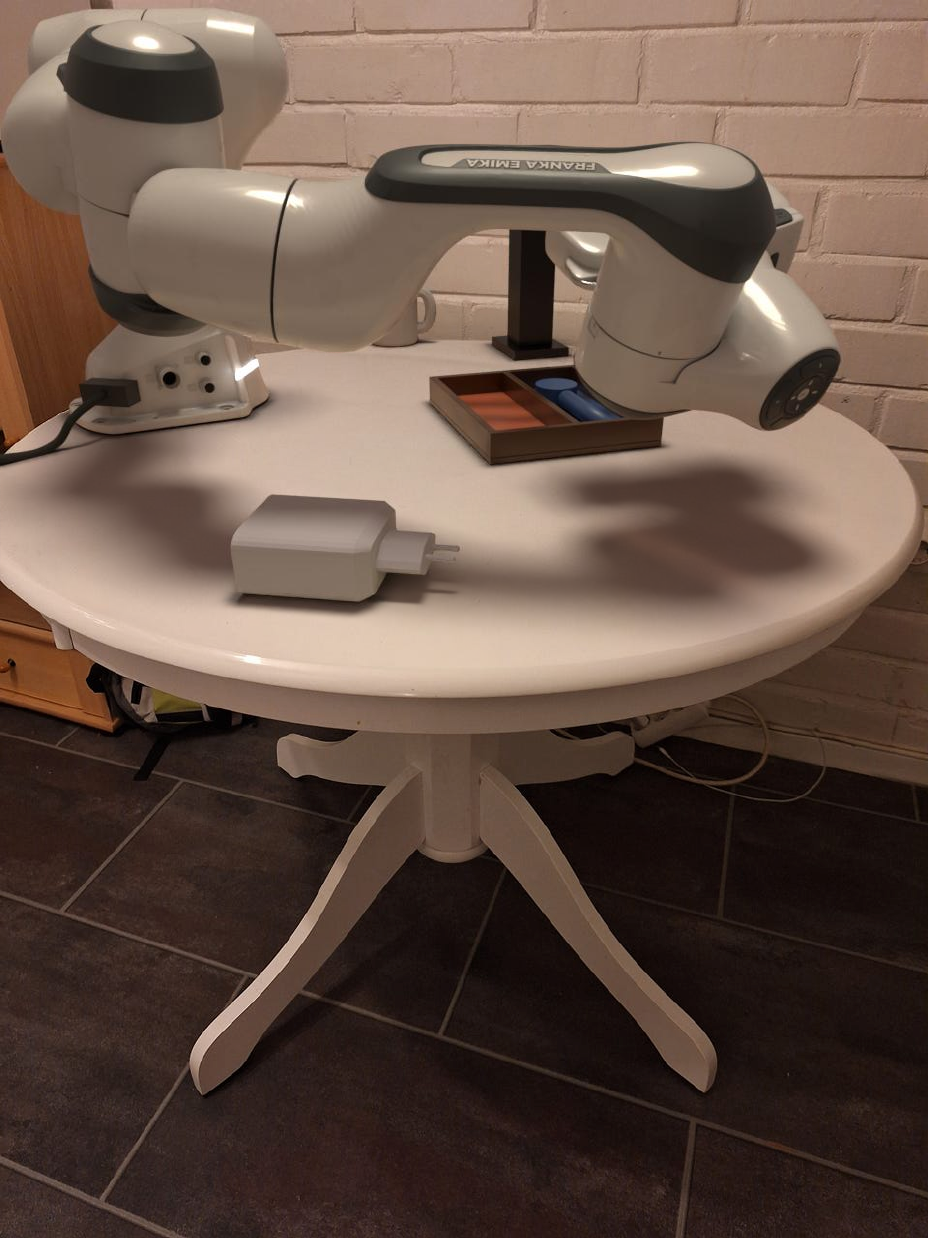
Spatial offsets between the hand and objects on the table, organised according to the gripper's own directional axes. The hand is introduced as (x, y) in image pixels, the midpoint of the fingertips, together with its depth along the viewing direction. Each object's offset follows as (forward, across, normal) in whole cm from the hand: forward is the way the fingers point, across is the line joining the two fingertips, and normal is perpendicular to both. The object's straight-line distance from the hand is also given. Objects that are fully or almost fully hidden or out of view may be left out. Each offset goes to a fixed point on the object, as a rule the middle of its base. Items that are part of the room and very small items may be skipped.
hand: (629, 182), depth 80 cm
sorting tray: (0, -7, -26) cm, 27 cm away
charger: (-28, -33, -10) cm, 44 cm away
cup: (+40, -11, -44) cm, 60 cm away
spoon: (-2, -2, -25) cm, 25 cm away
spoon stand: (+29, +5, -40) cm, 50 cm away
